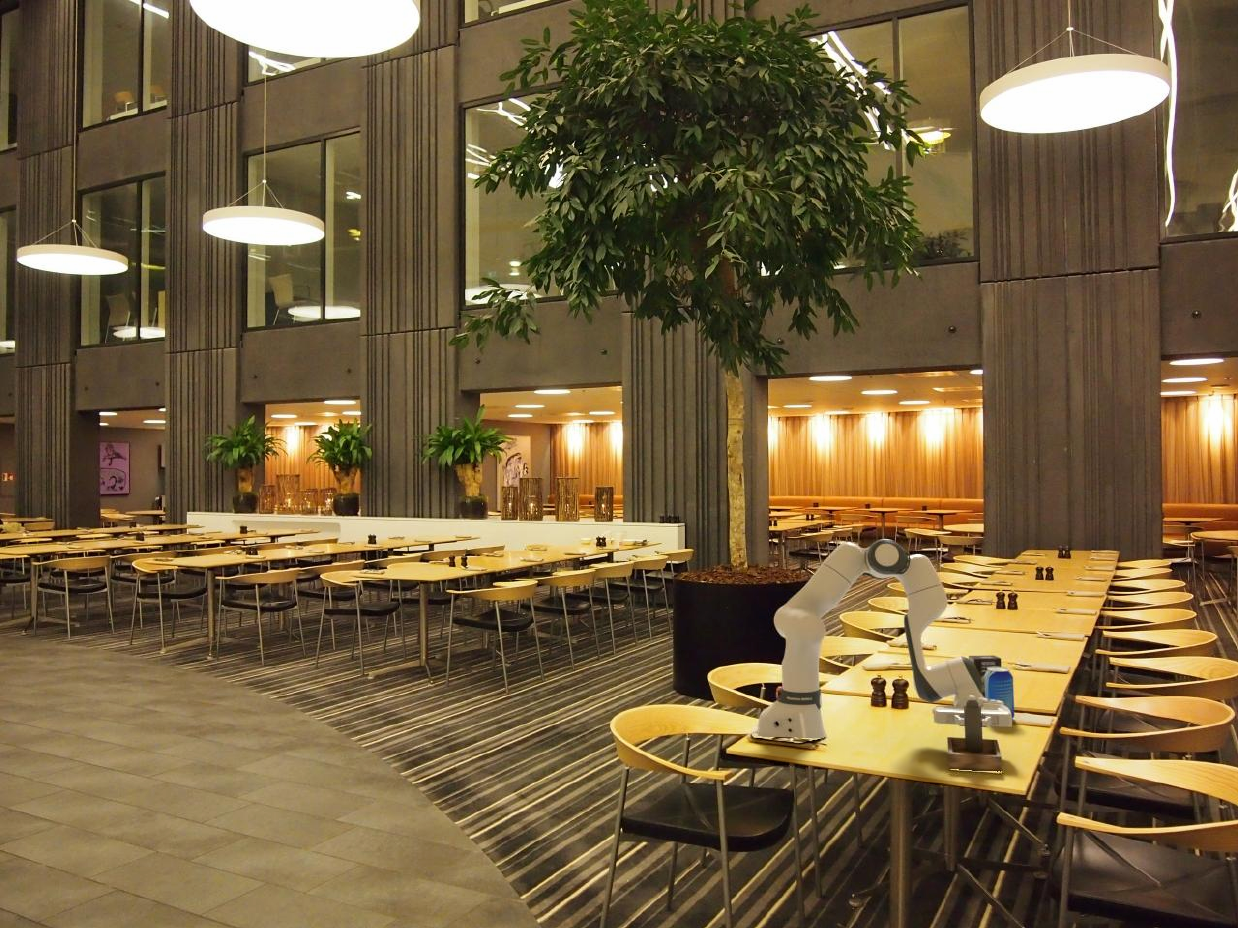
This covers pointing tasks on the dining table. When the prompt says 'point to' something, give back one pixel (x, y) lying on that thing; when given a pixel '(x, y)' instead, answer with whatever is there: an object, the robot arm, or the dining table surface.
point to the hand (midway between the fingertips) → (973, 723)
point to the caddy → (974, 756)
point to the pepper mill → (973, 726)
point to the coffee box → (985, 666)
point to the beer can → (1000, 686)
